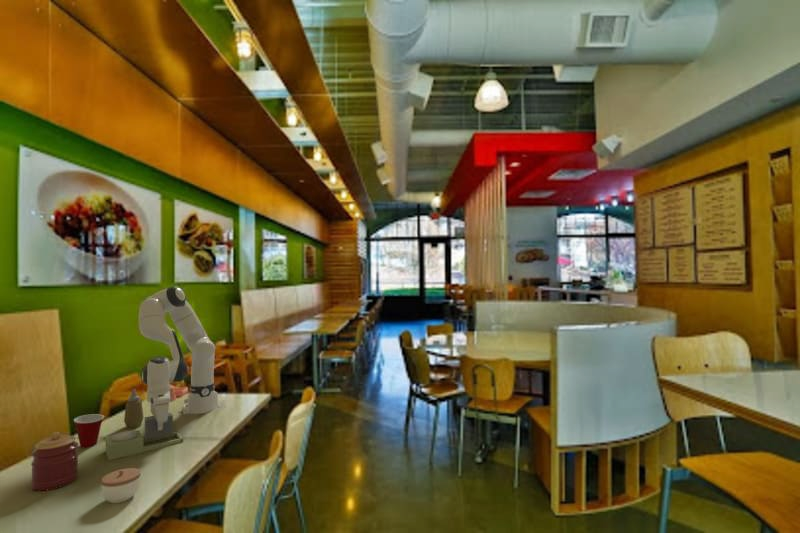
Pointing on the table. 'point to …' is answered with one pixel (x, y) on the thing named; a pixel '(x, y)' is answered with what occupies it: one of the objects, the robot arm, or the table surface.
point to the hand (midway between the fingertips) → (158, 427)
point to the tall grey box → (152, 425)
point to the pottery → (177, 392)
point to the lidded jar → (120, 484)
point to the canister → (54, 462)
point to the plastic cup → (88, 429)
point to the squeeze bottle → (133, 411)
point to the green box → (134, 443)
